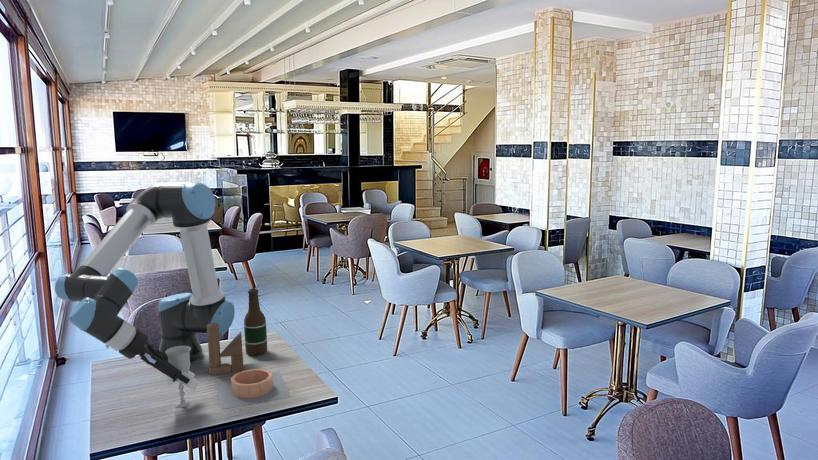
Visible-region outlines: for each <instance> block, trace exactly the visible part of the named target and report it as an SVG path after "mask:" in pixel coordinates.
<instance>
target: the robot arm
mask: <svg viewBox="0 0 818 460" xmlns="http://www.w3.org/2000/svg"><path fill="white" fill-rule="evenodd" d="M215 208H216V198H215V194H214V193H213V191H212V190H211V188H210V186H209V187H208V185H206V184H204V183H202V182H194V181H182V182H181V181H176V182H175V181H174V182H173V181H172V182H170V181H163V182H158V183H155V184H152V185H150V186H149V187H147V188H145V189H144V190H143V191H141V192H140V193H139V194H137V196H135V197H134V198H133V199H132V200H131V201H130V202H129V203H128V204H127V205H126V209H125V210H126V212H125V213H124V214H123V216H122V217H121V218H120V219H119V220H118V221H117V222H116V223H115V224H114V225H113V227H112V229H111V230H109V232H107V234H106V235H105V236H104V238H103V239H102V240H101V241H100V242H98V245H96V246H95V248H94V249H93V250H92V251H91V252H90V253H89V254H88V256H87V257H86V258H85V260H83V262H82V263H81V264H80V265H79V266H78V268H76V270H75V271H74V272H73V273H65V274H63V275H60V276H59V277H58V278H57V279H56V282H55V284H54V292H55V294H56V295H57V297H58V298H59V299H60V300H64V301H68V302H72V303H73V302H78V303H77V304H76V306H75V307H74V308H72V310H71V312H70V313H69V315H68V321H69V322H70V323H72V325H74V326H75V327H76V328H78V329H79V330H80V331H82V332H84V333H86V334H88V335H90V336H91V337H93V338H95V339H96V340H98V341H100V342H101V343H102V344H105V348H106V349H109V348H110V349H113V350H114V351H116V352H117V351H118V353H119V354H121V355H122V356H124V357H125V358H127V359H134V358H135V357H136V356H139V357H140V360H142V361H143V362H144V363H146V364H147V365H149V366H151V367H153V368H154V369H156V370H158V371H159V372H160V373H163V374H164V375H165V376H166V377H169V378H170V379H172V382H173V383H174V382H177V381H179V382H180V383H182V384H183V386H184V387H185V386H186V387H187V388H188V389H190V390H192V391H193V392H194V391H195V390H196V389H197V388H198V387H199V386H200V384H201V382H200V381H198V380H197V379H196V378H194V377H195V376H196V375H195V374H196V373H193V372H192V371H190V370H189V372H188V374H186V373H185V372H183V371H180V370H178V369H177V368H176V367H174V366H173V365H171V364H170V363H169V362H168V356H167V354H166V350H167V349H169V348H172V347H175V346H189V347H191V350H190V352H189V354H190V364H191V363H194V362H196V361H198V360H200V359H201V358H202V357H203V355H204V353H203V347H202V345H201V343H200V340H199V339H198V335H197V333H198V334H207V325H208V324H210V323H217V324H218V327H219V335H223V334H225V333H226V332H227V331H228V330H229V329H230V328H231V326H232V324H233V321H234V319H235V314H236V313H235V312H236V311H235V309H236V308H235V305H234V303H233V302H231V301H229V300H226V295H225V292H224V291H223V290H221V289H220V287H219V284H218V283H219V282H218V278H217V273H216V266H215V262H214V257H213V251H212V246H211V245H212V244H211V240H210V234H209V230H208V225H209V223H210V222H211V221H212V220H211V217H212V216H213V215H214V213H215V211H216V210H215ZM163 218H170V219H172V220H171V221H172V225H173V227H174V228H175V229H177V230H179V233H180V239H181V244H182V248H183V252H184V258H185V259H184V260H185V262H186V267H187V272H188V277H189V278H188V279H189V281H190V282H189V283H190V287H191V291H192V293H191V292H182V293H177V294H173V295H172V294H171V295H168V296H166V297H164V298H162V299H160V300H159V301H158V319H159V330H160V331H159V332H160V338H161V339H160V343H159V348H156V347H154V346H153V344H150V343H149V342H148V341H149V336H148V334H146V333H145V332H143V331H142V330H140V329H137V328H136V326H134V325H133V324H131V323H130V322H128V321H126V320H125V319H123V318H122V317H120V316H119V313H120V312H121V310H122V309H123V308H124V306H125V305H126V303H127V302H128V300H130V298H131V296H132V295H133V294H134V292H135V289H136V288H137V286H138V285H139V278H138V277H137V275H136V274H135V273H134V272H132V271H130V270H129V269H126V268H124V267H118V268H115V267H116V266H117V264H119V262H120V261H121V260H122V258H124V256H125V255H126V254H127V253H128V251H129V250H130V249H131V248H132V246H133V245H134V244H135V243H136V241H137V240H139V238H140V237H141V235H142V234H143V233H144V231H146V229H147V228H148V227H152V226H153V225H154V224H156V222H157V221H158V220H160V219H163ZM114 268H115V269H114ZM176 380H177V381H176ZM179 382H178V383H179Z"/></svg>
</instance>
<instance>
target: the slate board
mask: <svg viewBox="0 0 818 460" xmlns="http://www.w3.org/2000/svg"><path fill="white" fill-rule="evenodd" d="M271 373H272V378H273V388H272V390H271V391H270V392H269V393H267V394H265V395H262V396H259V397H254V398H239V397H236V396H234V395H232V390H231V379H228V380H223V381H222V380H221V381H216V382H215V385H216V392H217V397H218V399H219V400H218V401H219V406H220V410H227V409H231V408H237V407H242V406H248V405H254V404H258V403H259V404H260V403H264V402H270V401H275V400H281V399H282V400H283V399H286V398H292V395H291V392H290V391H289V388H288V387H287V385H286V382H285V380H284V378H283V376H282V374H281V372H280V371H276V372H271ZM253 383H258V382H253ZM247 384H252V383H247Z"/></svg>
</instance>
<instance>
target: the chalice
mask: <svg viewBox="0 0 818 460" xmlns="http://www.w3.org/2000/svg"><path fill="white" fill-rule="evenodd" d="M190 350H191V347H189V346H175V347H172V348H169V349H167V350H166V354H167V356H168V362H169V363H170V364H171V365H173V366H174V367H176V368H177V369H178V370H180V371H183V372H185V373H186V374H188V372H189V371H190V368H191V363H190V354H189V352H190ZM175 382H178V387H177V388H178V389H179V393H178V395H179V400H178V401H177V402H176V403H175V407H176V408H185V407H188V406H190V401H189V400H187V399H185V397H184V396H185V393H186V392H184V389H185V385H184V384H182V383H180V382H179V381H177V380H176V381H175ZM176 408H174V409H173V413H176Z"/></svg>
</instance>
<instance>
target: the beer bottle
mask: <svg viewBox="0 0 818 460" xmlns="http://www.w3.org/2000/svg"><path fill="white" fill-rule="evenodd" d="M247 294H248V308H247V309H248V310H247V312H246V314H245V316H244V319H243V329H244V344H245V345H244V347H245V354H247V356H249V357H251V356H252V357H259V356H263V355H265V354H266V353H267V352H268V336H267V335H268V334H267V320H266V316H265V314H264V313H263V312H262V310H261V308H260V300H259V289H258V288H250V289H248V290H247Z"/></svg>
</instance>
